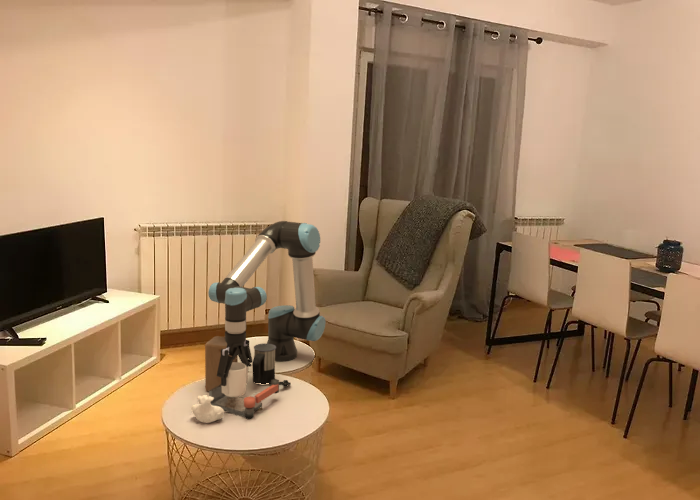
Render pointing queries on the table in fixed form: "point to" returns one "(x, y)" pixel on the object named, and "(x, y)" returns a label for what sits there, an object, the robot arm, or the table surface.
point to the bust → (207, 410)
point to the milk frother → (265, 364)
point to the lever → (261, 395)
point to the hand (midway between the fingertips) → (235, 387)
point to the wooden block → (214, 361)
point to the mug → (237, 379)
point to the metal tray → (231, 403)
